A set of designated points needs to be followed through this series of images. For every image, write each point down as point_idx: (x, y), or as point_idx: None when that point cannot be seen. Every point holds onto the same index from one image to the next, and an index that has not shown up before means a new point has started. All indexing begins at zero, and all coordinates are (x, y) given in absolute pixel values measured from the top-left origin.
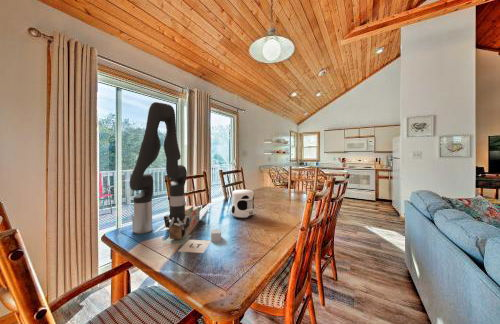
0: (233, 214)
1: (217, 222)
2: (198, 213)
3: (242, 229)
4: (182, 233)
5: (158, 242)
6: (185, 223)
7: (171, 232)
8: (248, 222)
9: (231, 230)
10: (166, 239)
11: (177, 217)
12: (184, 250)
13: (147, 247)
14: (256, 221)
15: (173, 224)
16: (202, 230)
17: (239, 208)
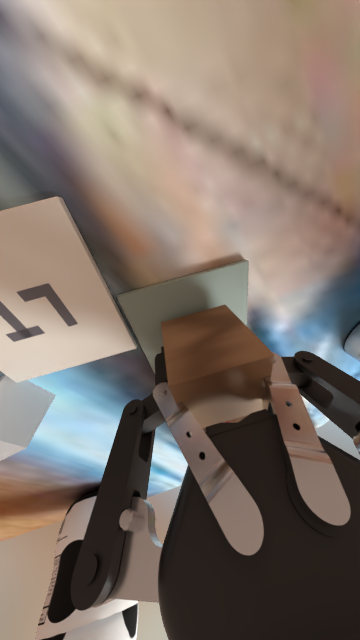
0: None
1: None
2: None
3: (23, 469)
4: (163, 359)
5: (273, 271)
6: (224, 422)
7: (232, 330)
8: (57, 489)
9: (52, 453)
10: (245, 305)
11: (268, 533)
12: (25, 228)
13: (313, 187)
14: (41, 498)
15: (264, 396)
16: None
17: None
